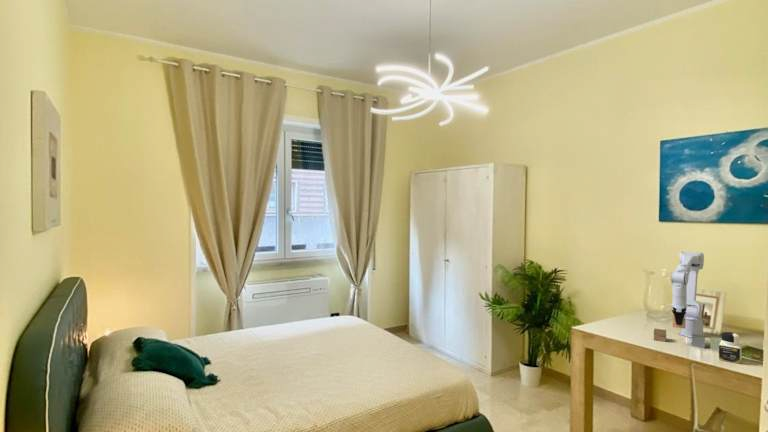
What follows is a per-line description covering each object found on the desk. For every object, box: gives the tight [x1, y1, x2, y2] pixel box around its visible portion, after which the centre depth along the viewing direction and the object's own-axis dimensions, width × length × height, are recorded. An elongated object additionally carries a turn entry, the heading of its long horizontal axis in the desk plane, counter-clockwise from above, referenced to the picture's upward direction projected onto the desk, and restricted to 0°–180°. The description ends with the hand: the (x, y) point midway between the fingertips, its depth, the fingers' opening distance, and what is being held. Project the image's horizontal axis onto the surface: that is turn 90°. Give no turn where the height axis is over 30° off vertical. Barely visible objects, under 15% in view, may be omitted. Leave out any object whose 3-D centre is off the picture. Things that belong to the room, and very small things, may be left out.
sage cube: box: [709, 336, 722, 352], centre depth 196 cm, size 5×5×5 cm
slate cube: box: [691, 334, 706, 349], centre depth 201 cm, size 5×5×5 cm
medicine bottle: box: [718, 331, 743, 365], centre depth 182 cm, size 7×7×12 cm
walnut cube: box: [653, 328, 667, 343], centre depth 210 cm, size 5×5×5 cm
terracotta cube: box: [672, 314, 686, 329], centre depth 203 cm, size 5×5×5 cm
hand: (679, 323), depth 203 cm, fingers closed on terracotta cube, 5 cm apart
